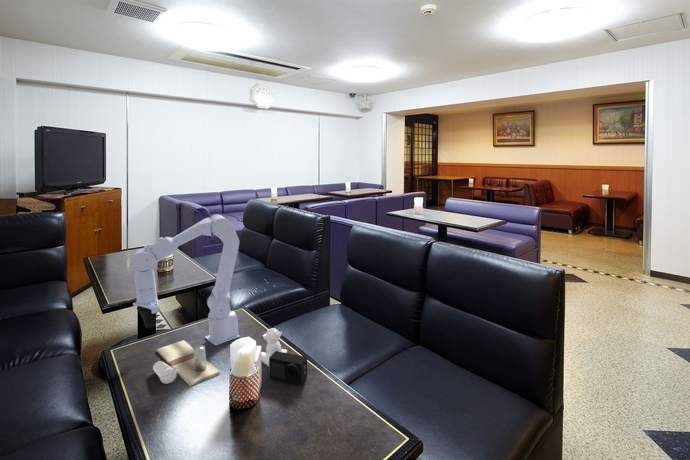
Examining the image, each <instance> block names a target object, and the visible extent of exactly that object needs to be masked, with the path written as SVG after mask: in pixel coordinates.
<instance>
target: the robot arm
mask: <svg viewBox="0 0 690 460" xmlns="http://www.w3.org/2000/svg"><path fill="white" fill-rule="evenodd" d="M235 228H236V227H235V226H234V224H233V223H232V222H231V221H230V220H228V219H227V218H225V217H224V216H223V215H221V214H212V215H211V216H210V217H205V218H203V219H201V221H198V222H196V223H195V224H194V225H193V224H192V226H190V227H188V228H187V229H185V230H183V231H182V232H180V233H178V234H177V235H175V236H173V237H171V236H165V237H162V236H160V237H158V238H157V240H158V241H156V242H153V243H152V244H150V245H148V246H147V245H144V246H143V249H137V250H136V251H135V252H133V255H132V256H131V257H132V258H131V260H132V266H133V273H134V274H133V277H134V286H135V295H136V301H135V302H133V303H132V305H133V307H136V309H137V311H138V312H139V315H140V316H141V318H142V321H143V323H144V326H145V327H146V329H152V328H154V327H155V323H156V318H157V314H158V313H160V306H159V299H158V294H157V293H158V292H157V283H156V275H155V271H154V265H155V263H159V262H161V261H162V260H165V259H166V258H168V257H170V256H172V255H173V254H175V253H177V251H178V247H180V246H182V245H183V244H186V243H188V242H190V241H192V240H194V239H196V238H198V237H200V236H209V237H212V236H213V235H212V233H213V234H214V235H215V236H216V237H218V238H219V239H220V241H221V242H222V243H223V247H222V251H221V254H220V255H221V256H220V260H219V264H218V265H219V266H218V269H217V276H216V279H215V283H214V287H213V289H211V292H210V293H211V294H210V295H209V296H208V298H207V300H206V304H207V306H208V308H209V313H208V314H207V316H208V317H207V318H208V329H209V331H208V333H209V334H207V335H205V336H204V338H205V339H206V340H207V341H208V342H210V343H211V344H212V345H213V346H219V345H221V344H223V343H228V342H229V341H231V340H235V339H237V338H239V337H240V334H239V320H238V316H237V314H236V312H235V311H234V310H231V308H232V307H231V305H230V304H231V303H230V300H231V296H230V295H231V294H230V291H231V290H230V289H231V284H232V279H233V274H234V269H235V266H236V260H237V257H238V252H239V247H240V239H239V236H238V234H237V232H236V229H235Z"/></svg>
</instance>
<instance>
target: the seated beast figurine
mask: <svg viewBox="0 0 690 460" xmlns="http://www.w3.org/2000/svg"><path fill="white" fill-rule="evenodd" d="M282 334H283V332H282V331H279V330H278V329H276V328H275V327H274V328H273V327H272V328H268V330H267V331H266V332H265V333H264V334H262V338H263V340H265V341H266V343H267V344H266V347H265V352H264V351H261V363H262V364H264V365H265V366H267V367H268V368H269V357H270V356H271V355H272V354H273V353H274V352H275V351H279V352H284V353H288V350H287V349H283V348H282V345H281V343H280V340H279V339H280V338H281V337H282Z"/></svg>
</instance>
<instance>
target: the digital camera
mask: <svg viewBox="0 0 690 460" xmlns="http://www.w3.org/2000/svg"><path fill="white" fill-rule="evenodd" d="M268 368H269V369H268V370H269V379H270V380H275V381H279V382H283V383H287V384H292V385H297V386H303V385H304V382H305V381H306V380H307V379H308V356H303V355H299V354H293V353H288V352H287V353H284V352H279V351H275V352H274V353H273V354H272V355H271V356H270V357H269V367H268Z"/></svg>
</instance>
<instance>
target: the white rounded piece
mask: <svg viewBox="0 0 690 460" xmlns="http://www.w3.org/2000/svg"><path fill="white" fill-rule="evenodd" d="M175 369H179V368H172V367H171V366H170V365H169V364H168V363H167V362H164V361H162V360H159V361H156V362H155V363H154V364H153V365H152V370H153V371H154V373H155V374H156V375H157V377H158V379H159V380H160V382H161V383H163V384H165V385H166V384H170V383H172V382H173V381H174V380H176V379H177V375H178V373H177V372H176V370H175Z"/></svg>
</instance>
